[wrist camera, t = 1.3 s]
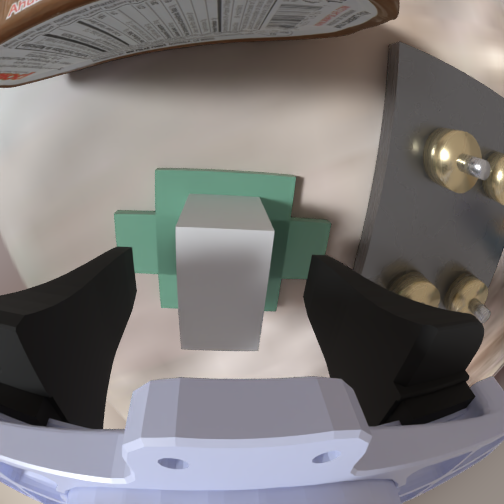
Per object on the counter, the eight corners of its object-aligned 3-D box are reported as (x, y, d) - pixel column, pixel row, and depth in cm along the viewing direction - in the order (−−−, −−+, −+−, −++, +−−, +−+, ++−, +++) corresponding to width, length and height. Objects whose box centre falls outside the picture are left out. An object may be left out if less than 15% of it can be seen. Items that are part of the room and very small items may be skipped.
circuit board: (332, 178, 13) (380, 209, 9) (308, 302, 16) (334, 363, 12) (117, 167, 12) (70, 194, 8) (128, 296, 15) (103, 358, 11)
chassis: (454, 335, 19) (479, 366, 16) (327, 351, 18) (347, 398, 14) (519, 116, 12) (562, 126, 8) (388, 44, 10) (439, 30, 7)
